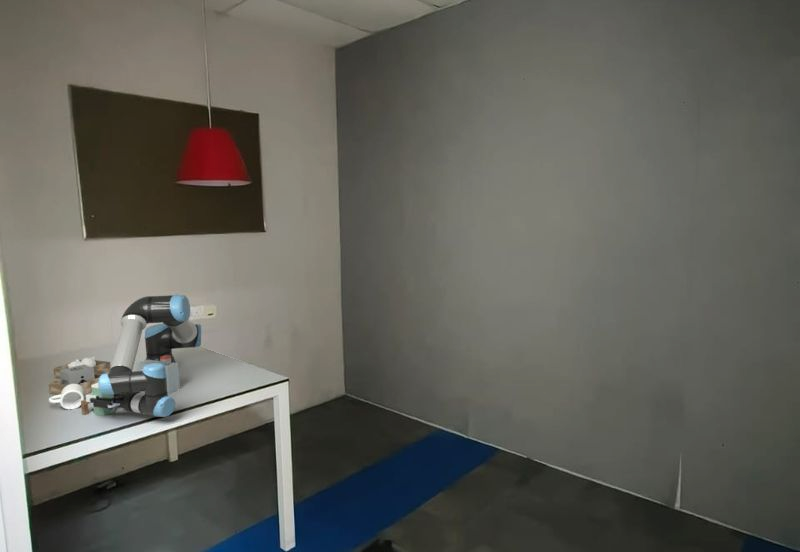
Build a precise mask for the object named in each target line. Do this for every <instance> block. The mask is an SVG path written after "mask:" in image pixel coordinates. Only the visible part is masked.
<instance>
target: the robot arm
mask: <svg viewBox="0 0 800 552" xmlns="http://www.w3.org/2000/svg"><path fill="white" fill-rule="evenodd" d="M189 300H190V299H188V297H187V296H186V295H184V294H171V295H170V294H169V295H154V296H151V295H149V296H143V297H140V298H138V299H136V300H135V301H133V302H132V303H131V304H130V305H129V306H128V307H127V308H126V309H125V311H124V313H122V316H121V319H120V326H121V328H120V329H121V330H120V333H119V335H118V340H117V343H116V348H115V349H114V354H113V356H112V361H111V363H110V365H111V367H110V371H109V372H108V373H105V374H102V375H101V376H100V377H99V381H98V388H99V391H100V393H101V394H114V397H113V398H100V396H94V395H93V394H85V399H86V402H91V403H90V404H93V408H94V407H100V408H106V409H109V410H112V409H113V407H115V408H116V407H117V408H123V410H125V411H126V412H130V413H135V414H136V413H137V414H142V415H148V416H149V415H150V416H153V417H158V418H159V417H162V418H164V417H165V418H166V417H169V416H171V414H172V413H173V412H174V410H175V409H176V401H175V399H174V398H173V397H172V396H170V395H169V393H168V391H167V380H166V377H167V375H166V370H165V366H164V365H163V364H161V363H153V364H148V365H146V366H144V367H143V371H137V370H135V371H133V370H134V367H135V366H134V365H135V362H136V357H137V353H138V348H139V347H140V346H139V345H140V342H141V336H142V332H143V330H144V339H145V340H144V341H145V342H144V343H145V354H146V358H145V360H156V361H160V357H161V356H164V355H170V356H171V362H173V363H177V361H176V360H175V357H174V355H173V350H174V349H188V348H189V349H190V348H198V347H201V345H202V325H201V324H198V323H193V322H191V321H190V316H191V305H190V301H189ZM147 324H153V325H150V326H148V327H147ZM140 391H142V392H140Z"/></svg>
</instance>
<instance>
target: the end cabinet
mask: <svg viewBox="0 0 800 552" xmlns="http://www.w3.org/2000/svg"><path fill="white" fill-rule="evenodd" d="M153 363H161V361H156V360H146V359H145V360H142V361H140V362H136V371H143V367H144V366H146V365H148V364H153ZM164 366H165V370H166V375H167V377H166V380H167V391H168V394H171V392H172V393H173V392H176V391H178V389H179V390H180V389H181V385H180V368H179V367H180V366H179V362H176V363H173V362H171V363H170V364H167V365H164Z"/></svg>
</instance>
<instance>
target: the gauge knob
mask: <svg viewBox="0 0 800 552" xmlns="http://www.w3.org/2000/svg"><path fill="white" fill-rule="evenodd" d="M160 361H161V364H163V365H167V364H170V363H171V356H170V355H164V356H161V357H160Z"/></svg>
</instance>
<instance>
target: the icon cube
mask: <svg viewBox="0 0 800 552" xmlns="http://www.w3.org/2000/svg"><path fill="white" fill-rule="evenodd" d="M59 371H60V379H59V380H60V381H61V384H66V385H70V384H78V385H79V384H82V383H85V382H88V381H91V380H94V379H95V375H94V368H92V367H90V366H87V365H80V366H75V367H71V368H66V369H62V370H59Z"/></svg>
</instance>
